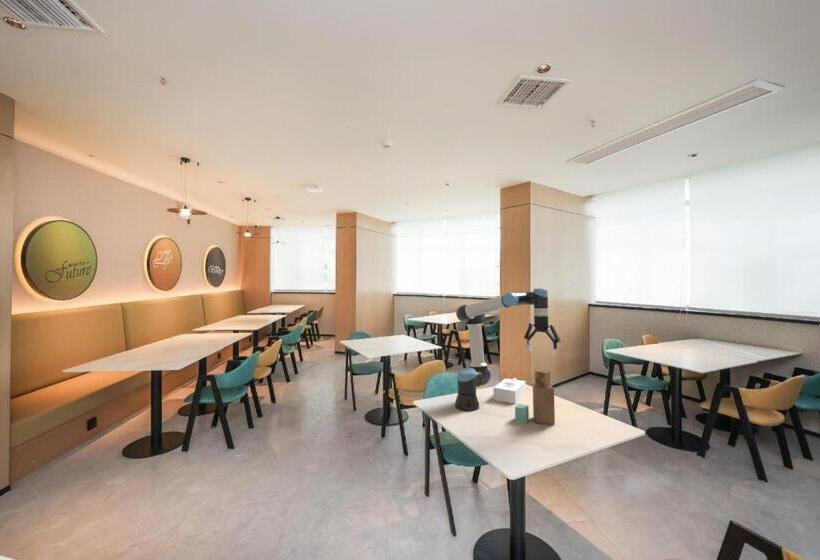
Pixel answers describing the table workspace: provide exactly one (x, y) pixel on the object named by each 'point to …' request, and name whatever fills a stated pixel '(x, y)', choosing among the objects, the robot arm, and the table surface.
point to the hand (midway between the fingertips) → (541, 352)
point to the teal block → (521, 413)
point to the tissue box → (509, 390)
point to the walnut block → (542, 378)
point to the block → (543, 404)
